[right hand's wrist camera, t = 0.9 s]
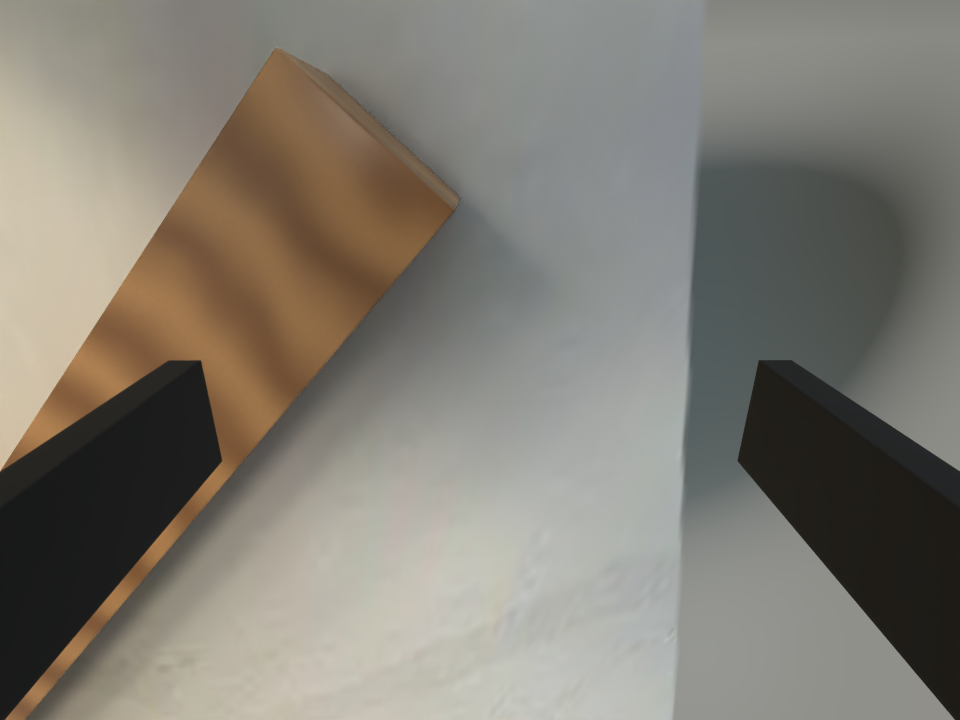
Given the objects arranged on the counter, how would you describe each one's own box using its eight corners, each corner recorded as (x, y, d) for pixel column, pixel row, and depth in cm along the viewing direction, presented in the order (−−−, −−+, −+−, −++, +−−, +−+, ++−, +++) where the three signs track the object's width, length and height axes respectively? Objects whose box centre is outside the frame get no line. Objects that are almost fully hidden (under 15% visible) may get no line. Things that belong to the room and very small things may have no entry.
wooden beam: (324, 72, 27) (275, 45, 21) (461, 198, 30) (455, 209, 23) (-160, 774, 49) (-260, 870, 42) (-59, 815, 51) (-139, 913, 45)
